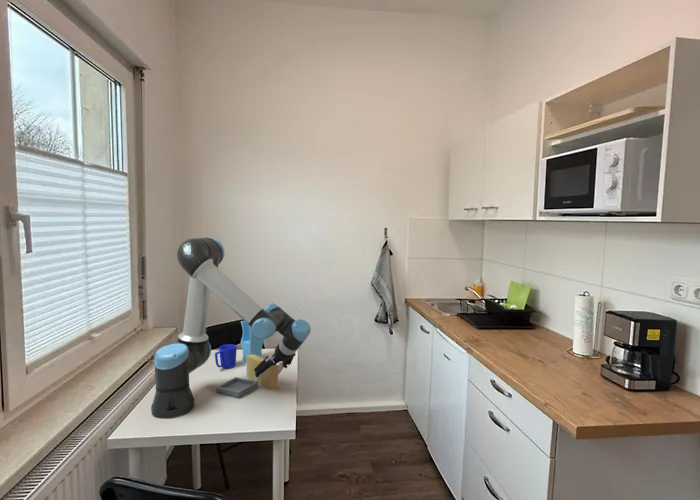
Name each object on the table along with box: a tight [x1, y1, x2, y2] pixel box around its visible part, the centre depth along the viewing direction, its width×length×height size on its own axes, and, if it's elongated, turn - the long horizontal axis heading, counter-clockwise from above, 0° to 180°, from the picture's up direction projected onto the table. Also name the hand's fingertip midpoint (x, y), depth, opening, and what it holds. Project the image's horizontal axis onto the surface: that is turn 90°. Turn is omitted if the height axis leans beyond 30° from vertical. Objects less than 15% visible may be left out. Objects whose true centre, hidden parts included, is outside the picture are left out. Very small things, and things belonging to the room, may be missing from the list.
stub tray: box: [215, 377, 259, 399], centre depth 174 cm, size 12×12×2 cm
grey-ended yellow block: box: [245, 354, 265, 386], centre depth 184 cm, size 12×4×10 cm, turn 44°
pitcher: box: [240, 320, 264, 363], centre depth 211 cm, size 8×8×20 cm
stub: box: [261, 363, 279, 391], centre depth 177 cm, size 7×4×10 cm, turn 44°
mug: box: [214, 343, 238, 369], centre depth 200 cm, size 8×12×10 cm
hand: (265, 375), depth 180 cm, fingers open, 10 cm apart
